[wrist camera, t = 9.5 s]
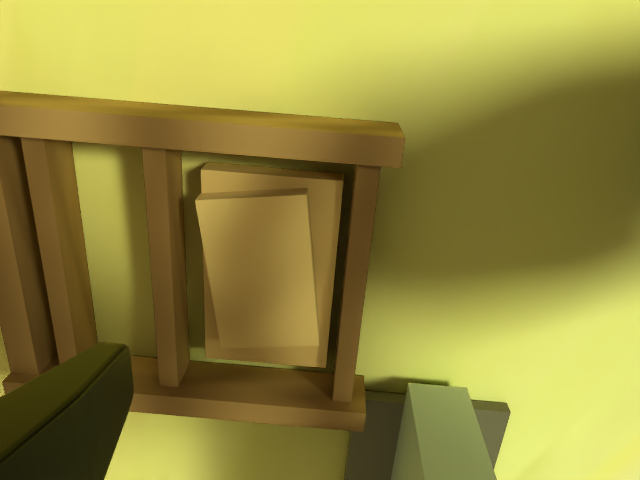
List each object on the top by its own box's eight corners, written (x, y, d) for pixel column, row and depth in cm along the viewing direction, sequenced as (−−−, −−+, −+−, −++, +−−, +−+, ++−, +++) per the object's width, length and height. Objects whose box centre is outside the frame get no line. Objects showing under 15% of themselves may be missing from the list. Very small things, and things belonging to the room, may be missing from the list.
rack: (397, 122, 18) (404, 137, 16) (361, 393, 24) (363, 431, 21) (-16, 89, 19) (-65, 99, 16) (37, 364, 24) (6, 400, 22)
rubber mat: (506, 402, 23) (510, 412, 23) (476, 507, 26) (479, 518, 26) (355, 389, 24) (355, 398, 23) (342, 495, 26) (341, 506, 26)
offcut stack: (343, 173, 19) (343, 188, 18) (326, 353, 23) (325, 380, 21) (206, 161, 19) (194, 175, 18) (210, 343, 23) (200, 369, 21)
